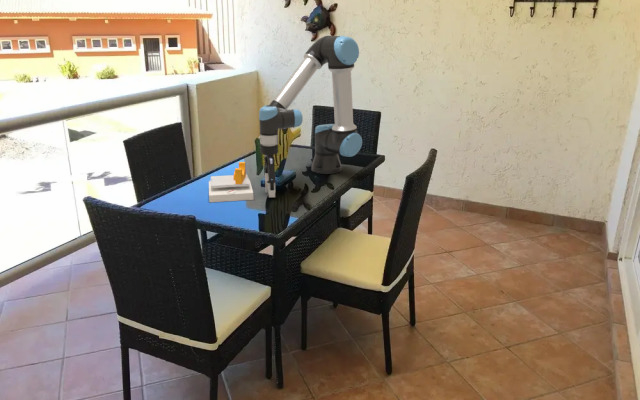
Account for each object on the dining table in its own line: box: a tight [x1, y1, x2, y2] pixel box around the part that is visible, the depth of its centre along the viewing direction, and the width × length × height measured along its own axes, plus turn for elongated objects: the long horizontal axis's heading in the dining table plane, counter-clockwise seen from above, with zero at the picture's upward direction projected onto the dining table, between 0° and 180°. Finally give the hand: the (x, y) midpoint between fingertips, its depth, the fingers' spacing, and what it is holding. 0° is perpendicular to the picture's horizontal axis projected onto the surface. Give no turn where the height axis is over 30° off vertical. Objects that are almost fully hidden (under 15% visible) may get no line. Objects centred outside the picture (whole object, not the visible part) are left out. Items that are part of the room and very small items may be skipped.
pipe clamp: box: [232, 161, 247, 184], centre depth 212 cm, size 12×4×6 cm, turn 0°
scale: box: [208, 173, 254, 203], centre depth 213 cm, size 18×20×6 cm
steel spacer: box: [264, 180, 269, 195], centre depth 214 cm, size 4×4×5 cm
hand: (270, 192), depth 215 cm, fingers open, 13 cm apart
